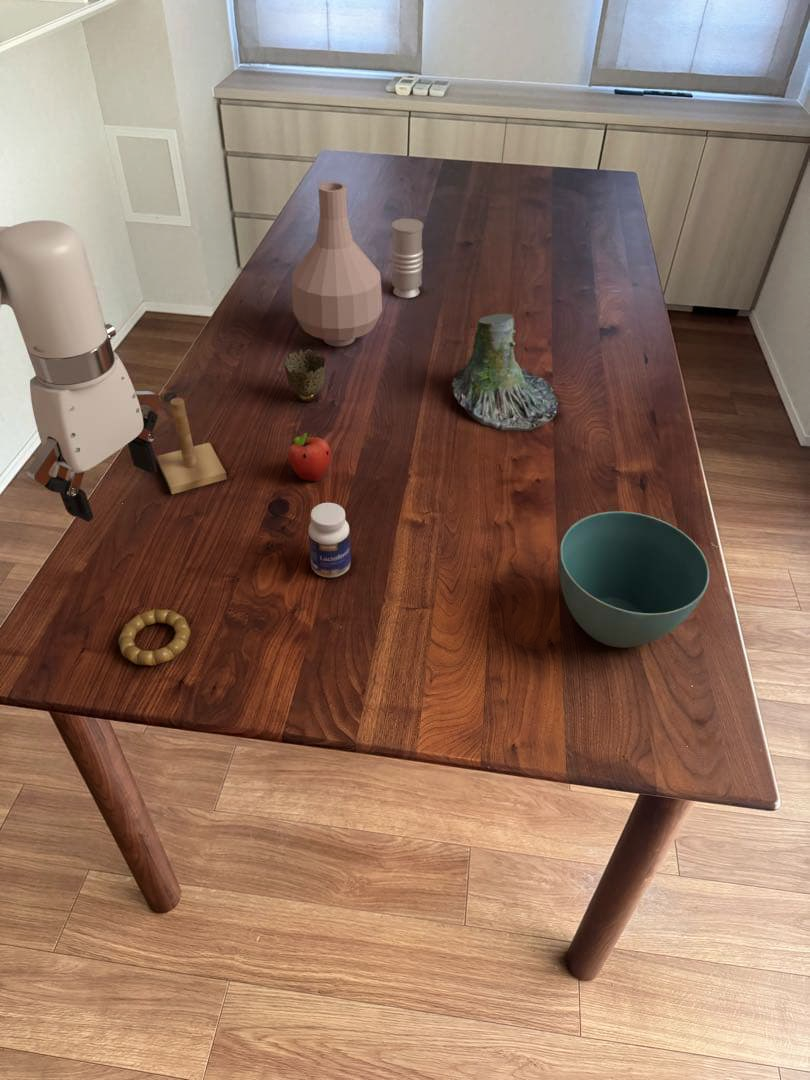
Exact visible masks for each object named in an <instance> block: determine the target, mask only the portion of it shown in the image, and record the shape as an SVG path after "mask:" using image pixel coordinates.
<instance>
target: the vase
mask: <svg viewBox="0 0 810 1080" xmlns="http://www.w3.org/2000/svg"><path fill="white" fill-rule="evenodd" d="M317 189H318V203H319V204H318V205H319V217H318V218H319V220H318V226H317V234H316V241H315V242H314V243H313V245H312V246H311V248H309V250H308V251H307V253H306V254H305V256H304V257H303V258H302V259H301V261H300V262H299V264H298V265H297V266H296V268H294V270H293V272H292V273H291V293H292V295H291V296H292V312H293V314H294V316H295V318H296V320H297V322H298V324H299V325H300V327H301V328H302V330H303V331H304V332H305V333H307V334H309V335H310V336H312V337H313V338H318V339H321V340H323V342H324V343H325V344H326V345H329V346H333V347H344V346H345V347H346V346H348V345H351V344H352V343H354V342H355V340H356V339H358V338H360V337H363V336H365V335H366V334H368V333H370V332H371V331H373V329H374V328H375V326H376V325H377V322H378V320H379V318H380V316H381V314H382V312H383V295H382V278H381V271H380V270H379V269H378V268H377V267H376V265H374V264H373V262H372V261H371V260H370V259H369V257H368V256H367V255H366V254H365V252H364V251H363V250H362V249H361V248H360V246H359V245H358V244H357V243H356V242H355V241H354V238H353V234H352V231H351V227H350V222H349V217H348V211H347V210H348V209H347V208H348V207H347V186H346V184H345V183H343V182H338V181H326V182H322V183H320V184H318V188H317Z"/></svg>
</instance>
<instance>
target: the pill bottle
mask: <svg viewBox="0 0 810 1080" xmlns="http://www.w3.org/2000/svg"><path fill="white" fill-rule="evenodd" d="M350 532H351V531H350V525H349V523H348V521H347V520H346V511H345V509H344V508H343V507H342V506H341V505H340V504H337V503H335V502H322V503H319V504H317V505H315V506H314V507H313V508H312V509H311V511H310V524H309V526H308V532H307V533H308V543H309V544H308V545H309V558H310V566H311V569H312V571H313V572H314V573H315V574H317V575H318V576H320V577H322V578H327V579H328V578H330V579H331V578H338V577H340V576H342V575H344V574H345V573H346V572H348V570H349V569H350V567H351V561H352V559H351V533H350Z"/></svg>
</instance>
